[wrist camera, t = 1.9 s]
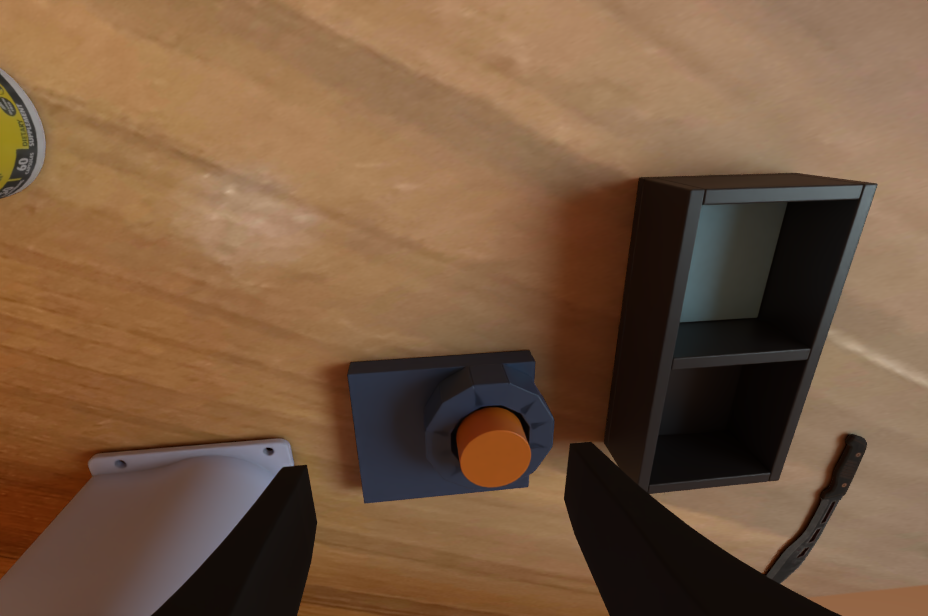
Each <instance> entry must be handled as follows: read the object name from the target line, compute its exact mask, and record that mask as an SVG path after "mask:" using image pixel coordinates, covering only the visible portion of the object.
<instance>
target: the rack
mask: <svg viewBox="0 0 928 616" xmlns="http://www.w3.org/2000/svg"><path fill="white" fill-rule="evenodd" d="M876 188H877V184H876V183H869V182H861V181H853V180H846V179H838V178H830V177H822V176H815V175H807V174H800V173H778V174H743V175H708V176H673V177H641V178H639V184H638V191H637V198H636V206H635V213H634V221H633V228H632V236H631V243H630V251H629V258H628V266H627V273H626V281H625V288H624V296H623V303H622V311H621V318H620V326H619V333H618V341H617V348H616V356H615V363H614V371H613V378H612V386H611V393H610V401H609V408H608V416H607V423H606V431H605V438H604V444H605V445H606V447H607V448H608V450H609V452H610V453H611V455H612V457H613V458H614V460H615V461H616V463H617V465H618V466H619V468H620V469H621V470H622V471H623V472H624V473H626V474H627V475H628V476H629V477H630V478H631V479H632V480H633V481H634V482H636V483H637V484H638V485H639V486H640V487H641V488H643V489H644V490H645V491H646V492H647V493H648V494H653V493H662V492H672V491H681V490H691V489H701V488H710V487H720V486H729V485H739V484H749V483H758V482H767V481H777V480H779V478H780V475H781V472H782V469H783V466H784V463H785V460H786V457H787V454H788V451H789V448H790V445H791V442H792V439H793V436H794V433H795V430H796V427H797V424H798V421H799V418H800V415H801V412H802V409H803V406H804V403H805V400H806V397H807V394H808V391H809V388H810V385H811V382H812V379H813V376H814V373H815V370H816V367H817V364H818V361H819V358H820V355H821V352H822V349H823V346H824V343H825V340H826V337H827V334H828V331H829V328H830V325H831V322H832V319H833V316H834V313H835V310H836V307H837V304H838V301H839V298H840V295H841V292H842V289H843V286H844V283H845V280H846V277H847V274H848V271H849V269H850V266H851V263H852V260H853V257H854V254H855V251H856V248H857V245H858V242H859V239H860V236H861V233H862V230H863V227H864V224H865V221H866V218H867V215H868V212H869V209H870V206H871V203H872V200H873V197H874V194H875V191H876Z"/></svg>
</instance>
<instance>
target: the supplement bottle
mask: <svg viewBox="0 0 928 616" xmlns="http://www.w3.org/2000/svg"><path fill="white" fill-rule="evenodd" d="M45 152H46V141H45V134H44V129H43V126H42V123H41V120H40V117H39V115H38V112H37V111H36V109H35V107H34V105H33V103H32V102H31V100H30V98H29V97H28V96H27V94H26V93H25V92H24V90H23V89H22V88H21V87H20V86H19V84H18V83H17V82H16V81H15V80H14V79H13V78H12V77H11V76H9V75H8V74H7V73H6V72H5V71H4V70H2V69H1V68H0V198H4V197H8V196H11V195H13V194H16V193H18V192H20V191H21V190H23V189H25V188H26V187H27V186H29V185H30V184H31V183H32V182H33V181H34V180H35V178H36V177H37V176H38V174H39V172H40V170H41V169H42V166H43V163H44V159H45Z"/></svg>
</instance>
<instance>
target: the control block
mask: <svg viewBox="0 0 928 616" xmlns="http://www.w3.org/2000/svg"><path fill="white" fill-rule="evenodd" d="M347 376H348V384H349V391H350V399H351V406H352V414H353V421H354V429H355V437H356V444H357V452H358V459H359V467H360V474H361V482H362V490H363V497H364V503H374V502H384V501H394V500H404V499H414V498H424V497H434V496H444V495H454V494H464V493H474V492H484V491H494V490H504V489H514V488H524V487H528V485H529V475H530V474H531V473H533V472H534V471H535V470H536V469H537V467H538V466H539V465H540V463H541V462H542V461H543V459H544V458H545V456H546V455H547V454H548V452H549V451H550V450H551V448H552V445H553V433H554V418H553V416H552V414H551V412H550V410H549V408H548V406H547V403H546V401H545V399H544V398H543V396H542V394H541V393H540V391H539V390H538V388H537V387H536V385H535V383H534V376H535V360H534V358H533V356H532V355H531V353H530V351H529V350H526V351H511V352H496V353H481V354H467V355H452V356H437V357H422V358H408V359H393V360H378V361H364V362H351V363H350V366H349V370H348V374H347ZM487 407H499V408H503V409H506V410H508V411H510V412H512V413H513V414H514V415H515V416H516V417H517V418H518V419H519V421H520V423H521V425H522V428H523V431H524V433H525V436H526V439H527V441H528V444H529V447H530V450H531V460H530V463H529V466H528V468H527V469H526V471H525V472H524V473H523V474H522V475H521V476H520V477H519V478H518V479H517V480H515V481H513V482H512V483H510V484H507V485H504V486H500V487H482V486H478V485H476V484H474V483H472V482H471V481H469V480H468V479H467V478H466V477H465V476H464V474H463V473H462V470H461V467H460V462H459V455H458V449H457V442H456V434H457V430H458V427H459V425H460V424H461V422H462V421H463V420H464V419H465V418H466V417H467V416H468V415H469V414H471V413H472V412H474V411H476V410H479V409H482V408H487Z"/></svg>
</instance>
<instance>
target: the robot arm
mask: <svg viewBox="0 0 928 616" xmlns="http://www.w3.org/2000/svg"><path fill="white" fill-rule="evenodd" d="M267 447H268V448H272V449H273V450H272V451H271V450H267V449H266V448H267ZM120 460H122V461H124V462H125V463H123V462H121V461H120ZM88 467H89V470H90V472H91V474H92V476H93V477H91V479H90V480H89V481H88V482H87V483H86V484H85V485H84V486H83V487H82V489H81V490H80V491H79V492H78V493H77V494H76V495H75V496H74V498H73V499H72V500H71V501H70V502H69V503H68V504H67V505H66V507H65V508H64V509H63V510H62V511H61V512H60V513H59V514H58V516H57V517H56V518H55V519H54V520H53V521H52V522H51V523H50V524H49V526H48V527H47V528H46V529H45V530H44V531H43V532H42V533H41V535H40V536H39V537H38V538H37V539H36V540H35V541H34V542H33V544H32V545H31V546H30V547H29V548H28V549H27V550H26V551H25V553H24V554H23V555H22V556H21V557H20V558H19V559H18V560H17V561H16V563H15V564H14V565H13V566H12V567H11V568H10V569H9V570H8V572H7V573H6V574H5V575H4V576H3V577H2V578H1V580H0V616H297V613H298V610H299V606H300V602H301V598H302V595H303V591H304V587H305V583H306V580H307V576H308V572H309V568H310V564H311V559H312V553H313V547H314V540H315V533H316V526H317V519H316V513H315V508H314V502H313V497H312V491H311V486H310V480H309V474H308V469H307V465H300V466H294V461H293V456H292V451H291V446H290V444H289V442H288V441H287V440H285V439H281V438H276V439H264V440H253V441H241V442H229V443H217V444H205V445H193V446H181V447H169V448H157V449H145V450H133V451H121V452H109V453H99V454H95V455H94V456H93V457H92V458H91V459H90V460H89V462H88ZM564 500H565V504H566V507H567V511H568V514H569V518H570V521H571V524H572V527H573V530H574V534H575V536H576V539H577V541H578V544H579V546H580V548H581V551H582V553H583V555H584V558H585V560H586V562H587V564H588V567H589V569H590V571H591V574H592V576H593V578H594V581H595V583H596V585H597V587H598V590H599V592H600V594H601V597H602V599H603V601H604V603H605V606H606V608H607V610H608V613H609V615H610V616H841V615H839V614H837V613H835V612H832V611H830V610H828V609H826V608H824V607H822V606H821V605H819V604H817V603H815V602H813V601H811V600H809V599H807V598H805V597H803V596H801V595H799V594H798V593H796V592H794V591H792V590H790V589H788V588H786V587H785V586H783V585H781V584H779V583H777V582H776V581H774V580H772V579H770V578H769V577H767V576H765V575H764V574H762V573H760V572H759V571H757V570H755V569H754V568H752V567H750V566H749V565H747V564H745V563H744V562H742V561H740V560H739V559H737V558H735V557H734V556H732V555H731V554H729V553H728V552H726V551H725V550H723V549H722V548H720V547H719V546H717V545H716V544H714V543H713V542H711V541H710V540H708V539H707V538H706V537H704V536H703V535H701V534H700V533H698V532H697V531H695V530H694V529H693V528H691V527H690V526H689V525H687V524H686V523H685V522H683V521H682V520H681V519H679V518H678V517H677V516H676V515H674V514H673V513H672V512H670V511H669V510H668V509H667V508H665V507H664V506H663V505H662V504H660V503H659V502H658V501H657V500H656V499H654V498H653V497H652V496H651V495H650V494H648V493H647V492H646V491H645V490H644V489H643V488H641V487H640V486H639V485H638V484H637V483H636V482H634V481H633V480H632V479H631V478H630V477H629V476H628V475H627V474H626V473H624V472H623V471H622V470H621V469H620V468H619V467H618V466H617V465H616V464H615V463H613V462H612V461H611V460H610V459H609V458H608V457H607V456H606V455H605V454H604V453H603V452H602V451H600V450H599V449H598V448H597V447H596V446H595V445H594V444H593V443H592V442H583V443H570V448H569V457H568V467H567V476H566V485H565V494H564Z"/></svg>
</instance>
